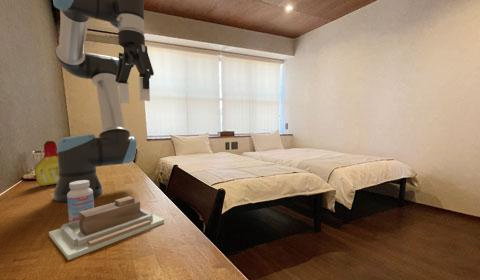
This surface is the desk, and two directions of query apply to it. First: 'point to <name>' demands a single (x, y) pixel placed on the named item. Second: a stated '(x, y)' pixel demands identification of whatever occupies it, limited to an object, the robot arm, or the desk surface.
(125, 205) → the brown block
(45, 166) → the bottle
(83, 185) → the pill bottle
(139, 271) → the desk surface
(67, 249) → the tray
